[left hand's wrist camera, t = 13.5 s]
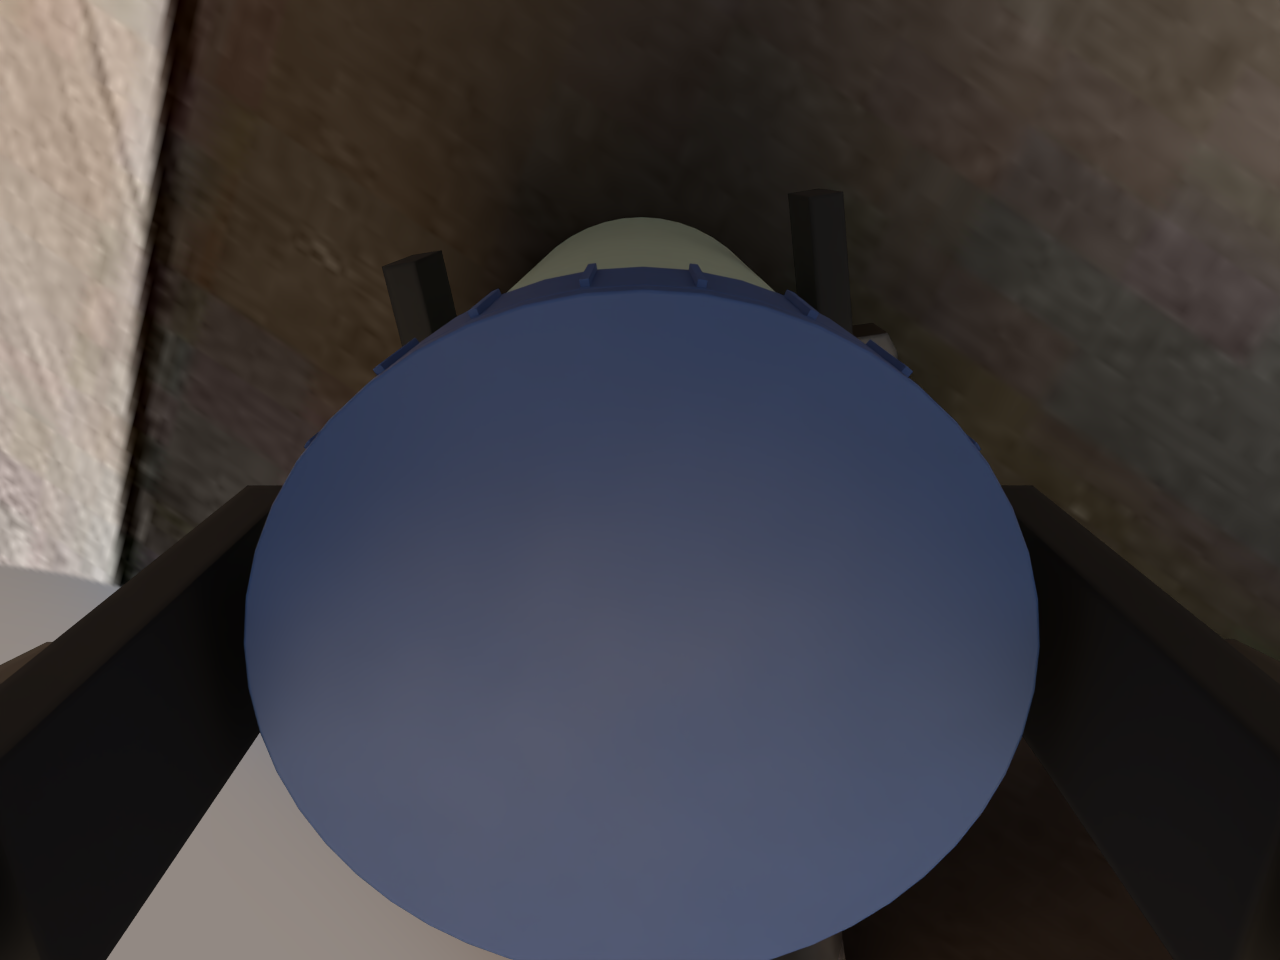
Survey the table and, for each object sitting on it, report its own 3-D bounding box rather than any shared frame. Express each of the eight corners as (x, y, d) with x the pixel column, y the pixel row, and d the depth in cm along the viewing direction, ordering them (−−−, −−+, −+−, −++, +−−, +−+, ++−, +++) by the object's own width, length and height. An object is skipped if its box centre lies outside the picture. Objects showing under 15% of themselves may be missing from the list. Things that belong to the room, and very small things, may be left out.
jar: (551, 509, 29) (427, 986, 12) (469, 259, 27) (156, 425, 9) (799, 448, 29) (1036, 867, 12) (743, 183, 26) (950, 213, 9)
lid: (439, 910, 14) (405, 1035, 12) (193, 370, 11) (91, 417, 9) (1010, 793, 13) (1077, 907, 11) (923, 170, 10) (996, 172, 8)
